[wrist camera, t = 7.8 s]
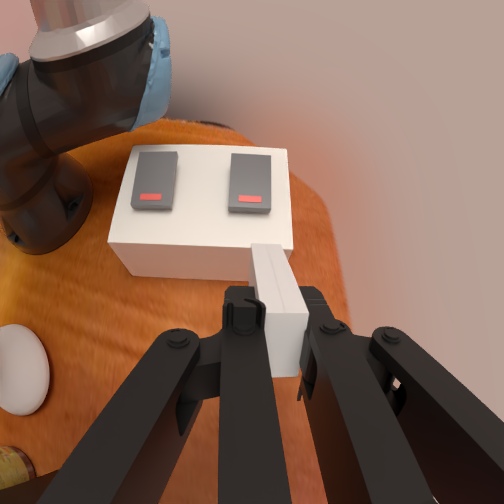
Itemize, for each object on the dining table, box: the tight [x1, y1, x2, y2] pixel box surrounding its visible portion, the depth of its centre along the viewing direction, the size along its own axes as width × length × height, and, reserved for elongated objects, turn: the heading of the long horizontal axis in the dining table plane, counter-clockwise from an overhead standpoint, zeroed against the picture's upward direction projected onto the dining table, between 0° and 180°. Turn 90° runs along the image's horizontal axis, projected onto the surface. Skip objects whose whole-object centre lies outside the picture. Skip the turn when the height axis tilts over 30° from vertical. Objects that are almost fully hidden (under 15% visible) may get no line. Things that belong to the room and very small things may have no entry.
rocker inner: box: [130, 151, 178, 209], centre depth 28 cm, size 6×4×1 cm
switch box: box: [107, 145, 293, 281], centre depth 34 cm, size 12×17×9 cm
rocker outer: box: [228, 153, 271, 213], centre depth 29 cm, size 6×4×1 cm
